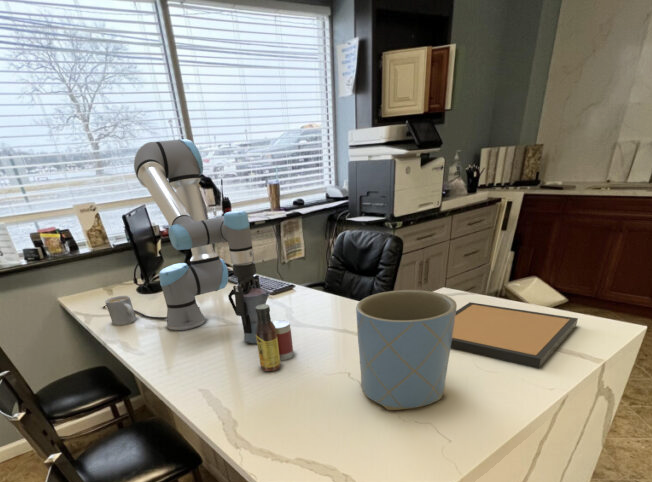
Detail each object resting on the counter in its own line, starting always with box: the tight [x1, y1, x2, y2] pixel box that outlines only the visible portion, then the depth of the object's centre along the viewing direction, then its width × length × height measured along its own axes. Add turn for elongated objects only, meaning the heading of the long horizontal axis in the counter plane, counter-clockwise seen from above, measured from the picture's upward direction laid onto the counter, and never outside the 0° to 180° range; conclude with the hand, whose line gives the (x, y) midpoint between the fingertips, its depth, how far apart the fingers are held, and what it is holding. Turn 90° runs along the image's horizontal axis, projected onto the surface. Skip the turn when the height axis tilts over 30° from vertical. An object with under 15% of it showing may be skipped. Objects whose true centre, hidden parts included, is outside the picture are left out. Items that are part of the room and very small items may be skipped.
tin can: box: [271, 319, 294, 361], centre depth 130 cm, size 7×7×11 cm
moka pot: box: [227, 284, 271, 344], centre depth 142 cm, size 10×15×20 cm, turn 79°
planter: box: [355, 289, 458, 411], centre depth 101 cm, size 23×23×24 cm
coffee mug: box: [105, 295, 137, 326], centre depth 176 cm, size 13×10×10 cm
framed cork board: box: [450, 301, 579, 369], centre depth 132 cm, size 36×3×35 cm
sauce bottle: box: [255, 303, 281, 372], centre depth 121 cm, size 6×6×20 cm
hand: (253, 328), depth 145 cm, fingers closed on moka pot, 8 cm apart
